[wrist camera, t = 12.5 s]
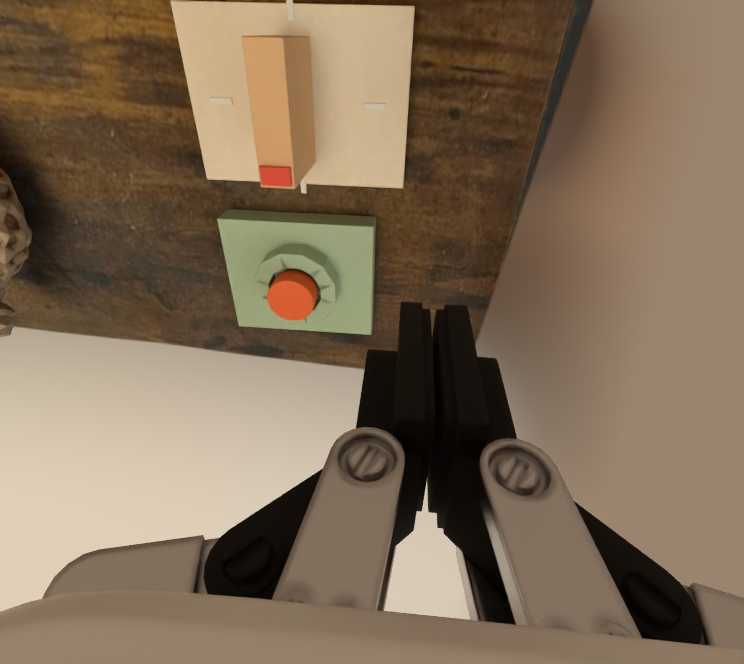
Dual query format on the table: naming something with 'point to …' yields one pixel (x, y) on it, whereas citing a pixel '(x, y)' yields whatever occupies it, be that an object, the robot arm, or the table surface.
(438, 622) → the robot arm
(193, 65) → the panel
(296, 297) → the button
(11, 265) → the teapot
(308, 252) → the button block
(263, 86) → the handle
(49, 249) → the table surface
